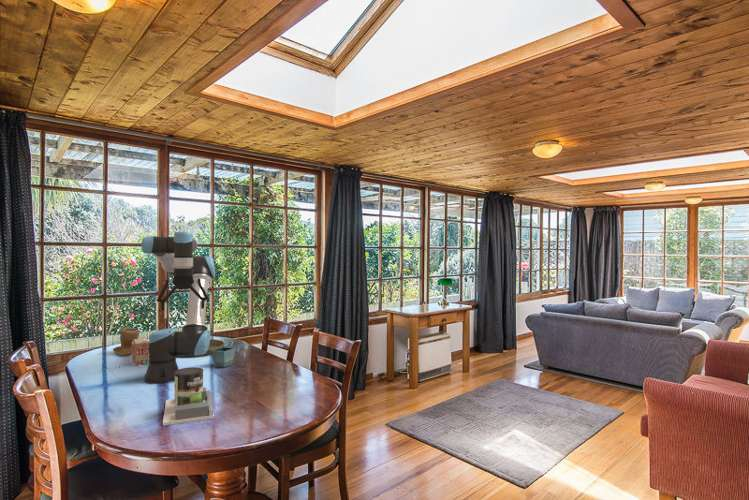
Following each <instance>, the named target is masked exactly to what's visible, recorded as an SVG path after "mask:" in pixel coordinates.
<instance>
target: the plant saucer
mask: <svg viewBox="0 0 749 500" xmlns="http://www.w3.org/2000/svg"><path fill="white" fill-rule="evenodd" d="M225 345H226V344H225V341H223V340H220V339H214V338H213V339H212V338H210V343H209V348H208V350H207V352H206V353H205V354H203V355H197V356H195V355H193V356H178V357H180V358H199V357H200V358H201V357H206V356H212V351H211V350H214V349H217V348H221V347H225Z"/></svg>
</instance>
